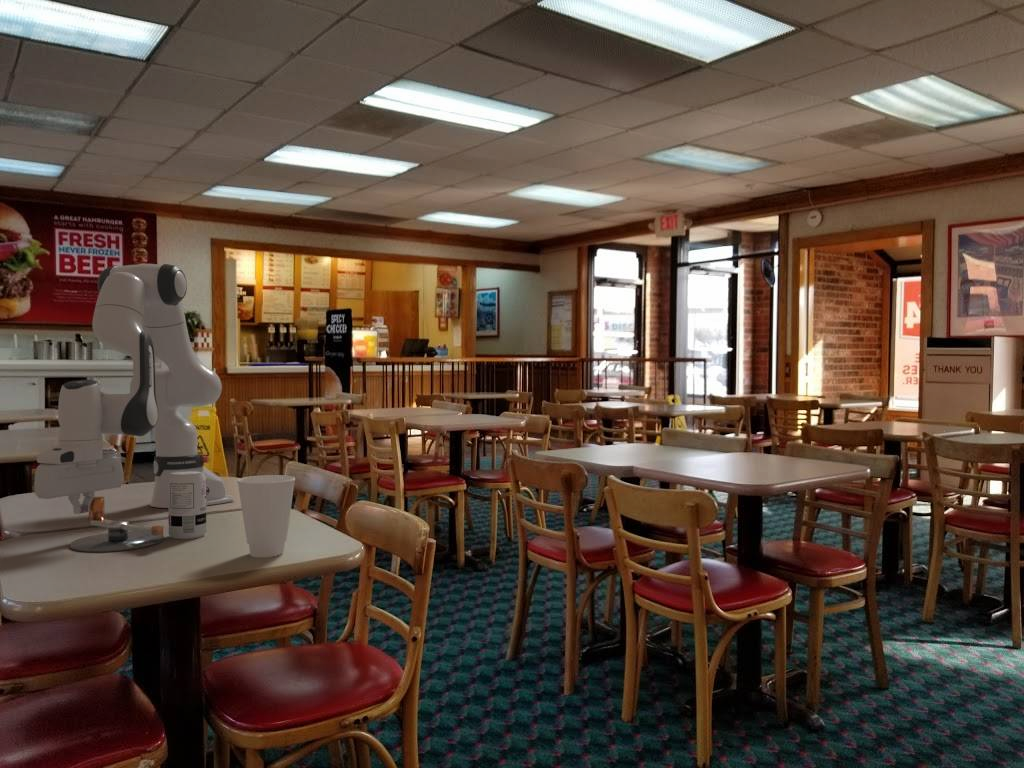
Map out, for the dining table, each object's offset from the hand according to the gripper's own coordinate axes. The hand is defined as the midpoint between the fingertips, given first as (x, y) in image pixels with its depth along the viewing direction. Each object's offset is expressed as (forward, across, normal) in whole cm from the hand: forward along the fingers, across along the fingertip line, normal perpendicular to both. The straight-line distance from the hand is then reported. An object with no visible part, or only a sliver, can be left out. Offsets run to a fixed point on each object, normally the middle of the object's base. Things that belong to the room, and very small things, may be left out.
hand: (81, 512), depth 183 cm
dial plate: (+7, -3, +8) cm, 11 cm away
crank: (+3, -2, +11) cm, 12 cm away
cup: (+7, -8, +46) cm, 47 cm away
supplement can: (+7, -14, +17) cm, 23 cm away
